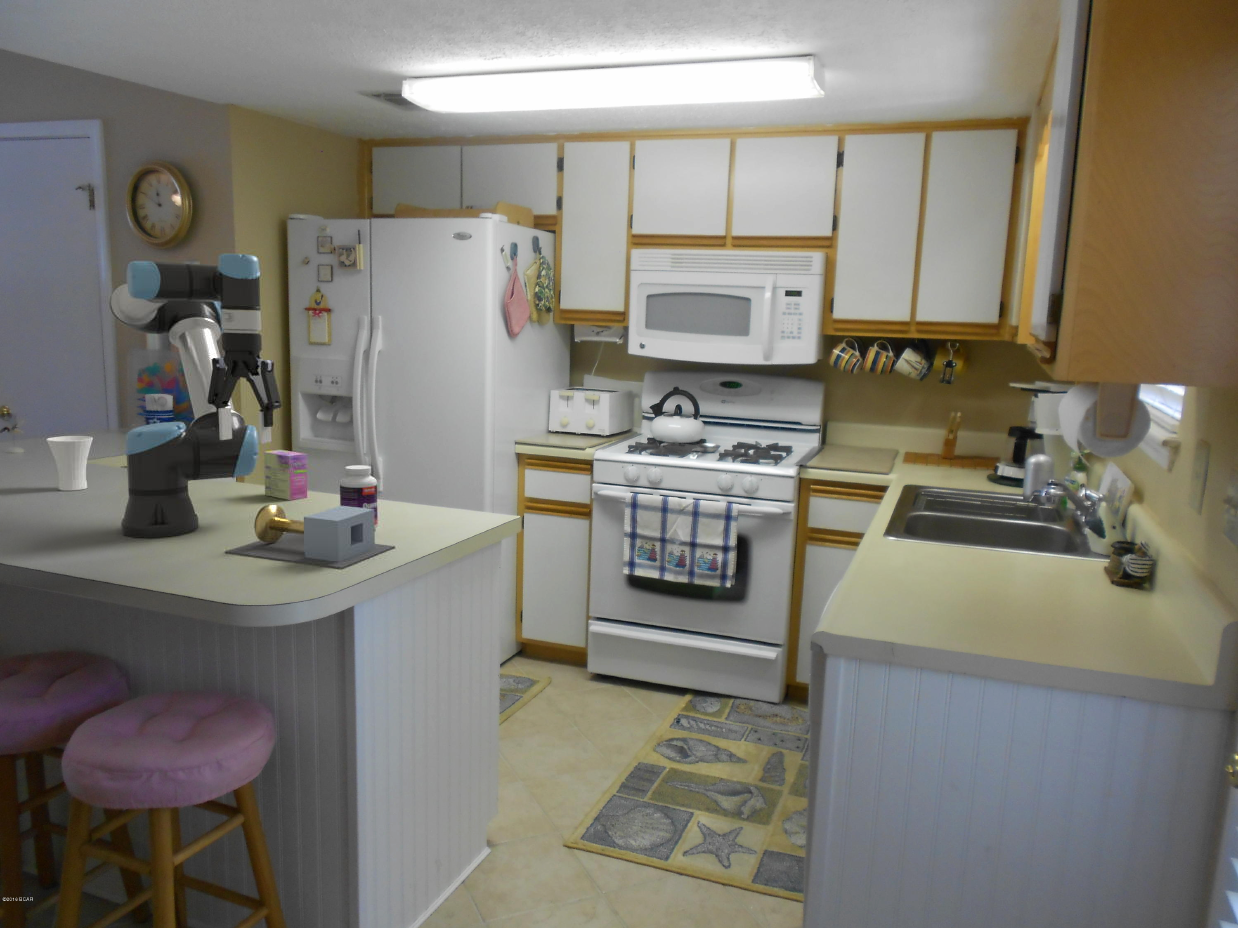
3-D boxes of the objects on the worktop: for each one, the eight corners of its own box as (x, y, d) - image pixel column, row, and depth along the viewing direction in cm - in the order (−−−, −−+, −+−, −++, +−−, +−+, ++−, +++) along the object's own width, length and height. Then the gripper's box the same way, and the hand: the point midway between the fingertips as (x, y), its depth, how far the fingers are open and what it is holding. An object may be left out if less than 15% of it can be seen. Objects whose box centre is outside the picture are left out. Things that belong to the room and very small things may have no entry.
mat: (225, 552, 180) (224, 551, 180) (285, 533, 197) (285, 532, 197) (342, 568, 171) (342, 567, 171) (395, 547, 188) (395, 546, 188)
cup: (80, 493, 233) (77, 441, 231) (40, 491, 233) (37, 440, 231) (104, 485, 244) (101, 436, 242) (66, 484, 244) (62, 435, 242)
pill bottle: (367, 535, 198) (366, 471, 196) (333, 532, 199) (332, 468, 197) (384, 527, 206) (383, 465, 203) (351, 524, 207) (350, 463, 205)
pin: (255, 545, 184) (253, 508, 183) (280, 537, 191) (279, 501, 190) (329, 555, 178) (328, 517, 177) (352, 546, 185) (352, 509, 184)
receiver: (304, 558, 178) (303, 516, 176) (342, 545, 189) (341, 505, 188) (338, 563, 175) (337, 520, 174) (374, 549, 186) (374, 509, 185)
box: (308, 497, 236) (307, 453, 234) (290, 500, 232) (288, 455, 230) (282, 492, 242) (281, 449, 240) (264, 495, 237) (263, 451, 235)
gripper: (184, 330, 182) (189, 439, 186) (273, 333, 175) (276, 447, 179) (212, 330, 189) (216, 435, 193) (298, 333, 182) (301, 442, 186)
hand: (245, 440), depth 186 cm, fingers open, 9 cm apart
